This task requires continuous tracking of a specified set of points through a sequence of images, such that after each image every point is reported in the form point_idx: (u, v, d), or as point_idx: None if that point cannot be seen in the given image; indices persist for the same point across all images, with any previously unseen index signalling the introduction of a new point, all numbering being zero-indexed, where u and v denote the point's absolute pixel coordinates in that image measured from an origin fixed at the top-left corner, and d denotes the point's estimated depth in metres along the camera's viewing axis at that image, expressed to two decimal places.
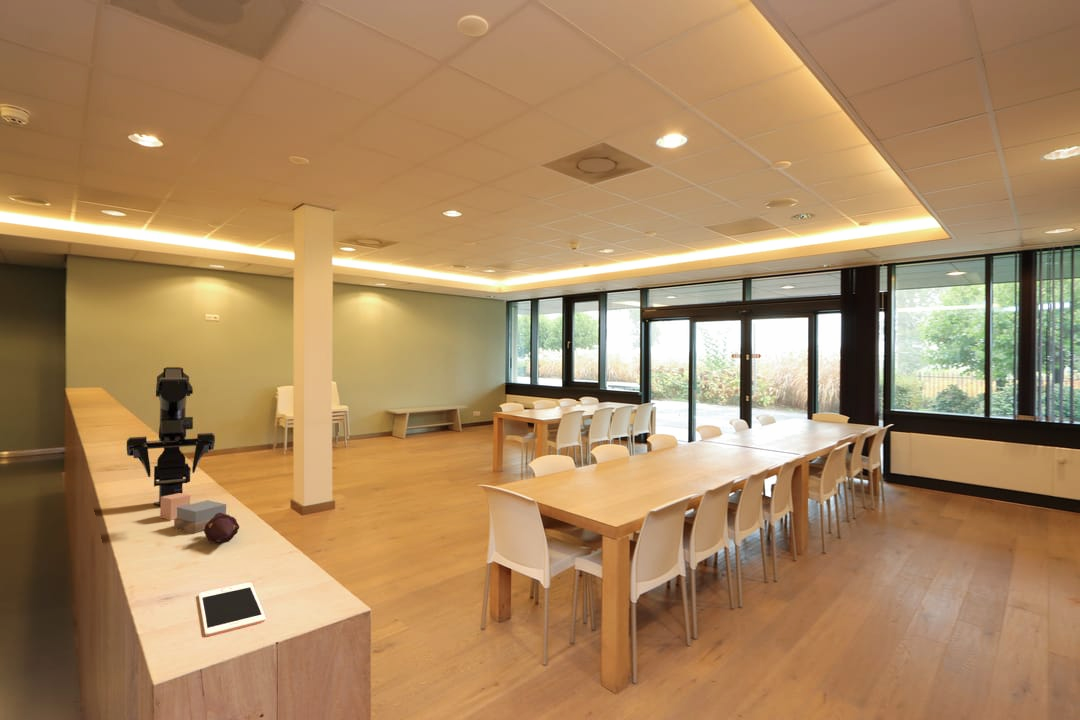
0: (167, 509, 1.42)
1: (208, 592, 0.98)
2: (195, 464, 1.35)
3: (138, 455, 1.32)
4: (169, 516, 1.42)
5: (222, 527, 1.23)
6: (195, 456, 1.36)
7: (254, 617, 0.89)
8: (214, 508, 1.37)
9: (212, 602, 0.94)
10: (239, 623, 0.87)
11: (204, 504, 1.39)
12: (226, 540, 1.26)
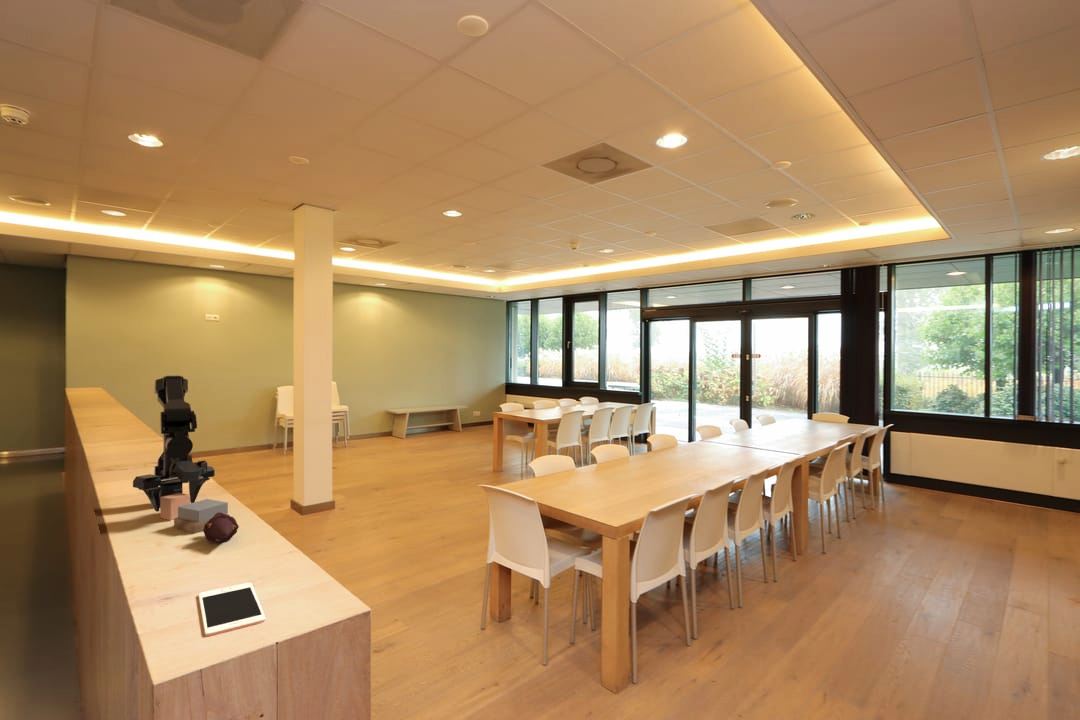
0: (167, 510, 1.42)
1: (208, 592, 0.98)
2: (195, 497, 1.49)
3: None
4: (169, 516, 1.42)
5: (221, 526, 1.23)
6: (196, 489, 1.49)
7: (254, 617, 0.89)
8: (216, 507, 1.37)
9: (212, 602, 0.94)
10: (239, 623, 0.87)
11: (205, 503, 1.39)
12: (225, 540, 1.26)
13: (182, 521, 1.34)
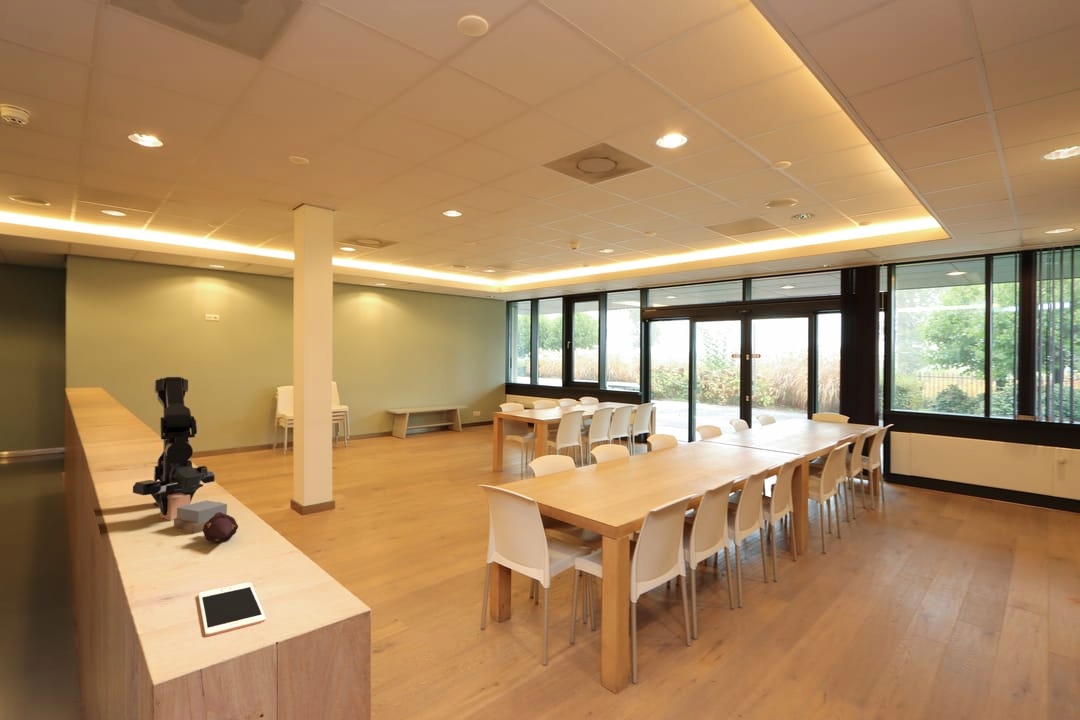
0: (167, 509, 1.42)
1: (208, 592, 0.98)
2: None
3: None
4: (169, 515, 1.42)
5: (220, 526, 1.23)
6: None
7: (254, 617, 0.89)
8: (215, 508, 1.37)
9: (212, 602, 0.94)
10: (239, 623, 0.87)
11: (204, 504, 1.39)
12: (225, 540, 1.26)
13: (182, 522, 1.34)
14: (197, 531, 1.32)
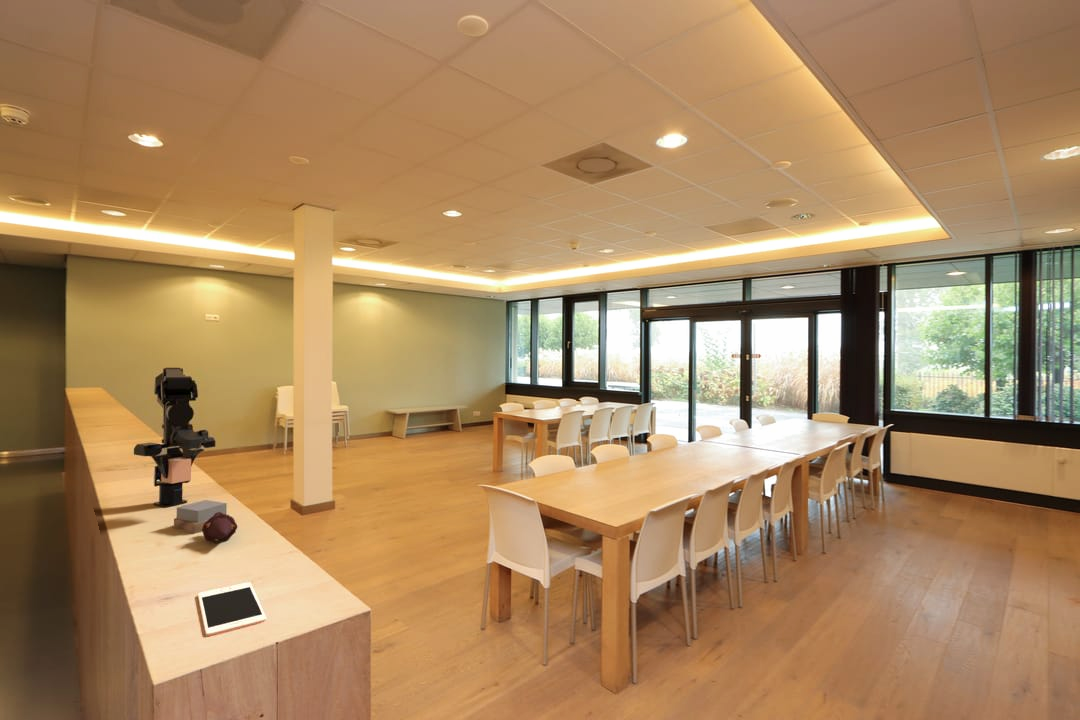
0: (168, 472, 1.42)
1: (207, 592, 0.98)
2: None
3: None
4: (170, 478, 1.42)
5: (219, 526, 1.23)
6: None
7: (254, 616, 0.89)
8: (215, 507, 1.37)
9: (212, 602, 0.94)
10: (240, 623, 0.87)
11: (204, 504, 1.39)
12: (224, 540, 1.26)
13: (182, 521, 1.34)
14: (197, 531, 1.32)
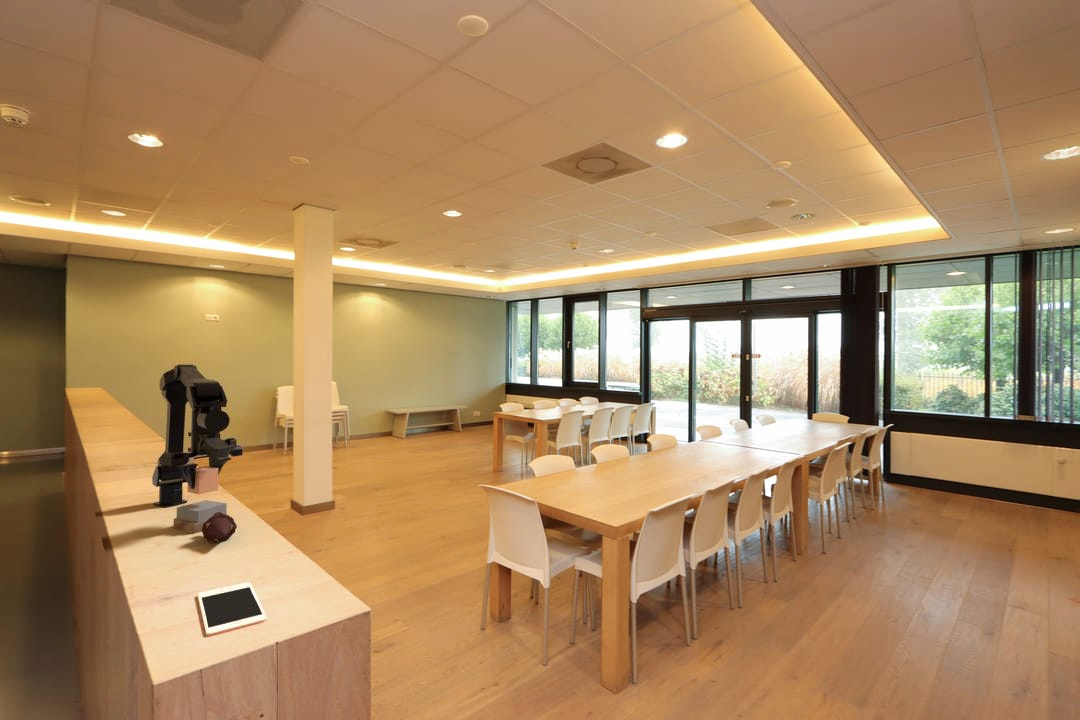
0: (195, 482, 1.35)
1: (207, 592, 0.98)
2: None
3: None
4: (197, 489, 1.35)
5: (219, 526, 1.23)
6: None
7: (255, 616, 0.89)
8: (215, 507, 1.37)
9: (212, 602, 0.94)
10: (240, 623, 0.87)
11: (204, 504, 1.39)
12: (223, 539, 1.27)
13: (181, 521, 1.34)
14: (197, 531, 1.32)
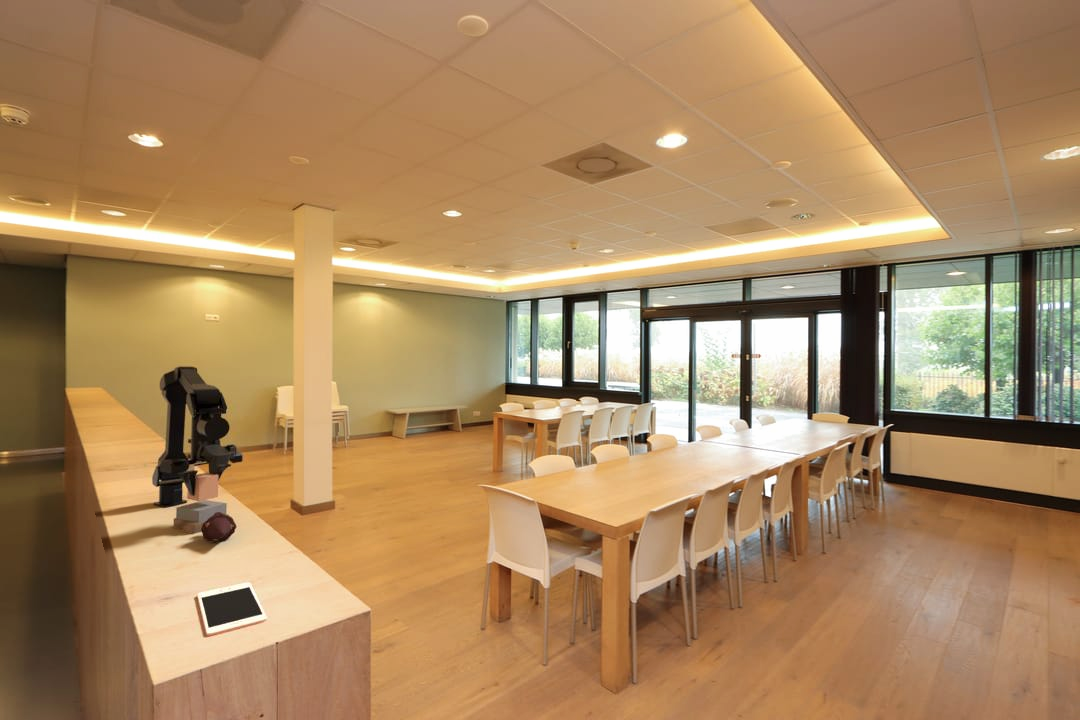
0: (195, 489, 1.35)
1: (207, 592, 0.98)
2: None
3: (180, 472, 1.34)
4: (197, 496, 1.35)
5: (218, 526, 1.23)
6: None
7: (255, 616, 0.89)
8: (216, 507, 1.37)
9: (212, 602, 0.94)
10: (240, 623, 0.87)
11: (203, 504, 1.39)
12: (223, 539, 1.27)
13: (181, 521, 1.34)
14: (197, 531, 1.32)
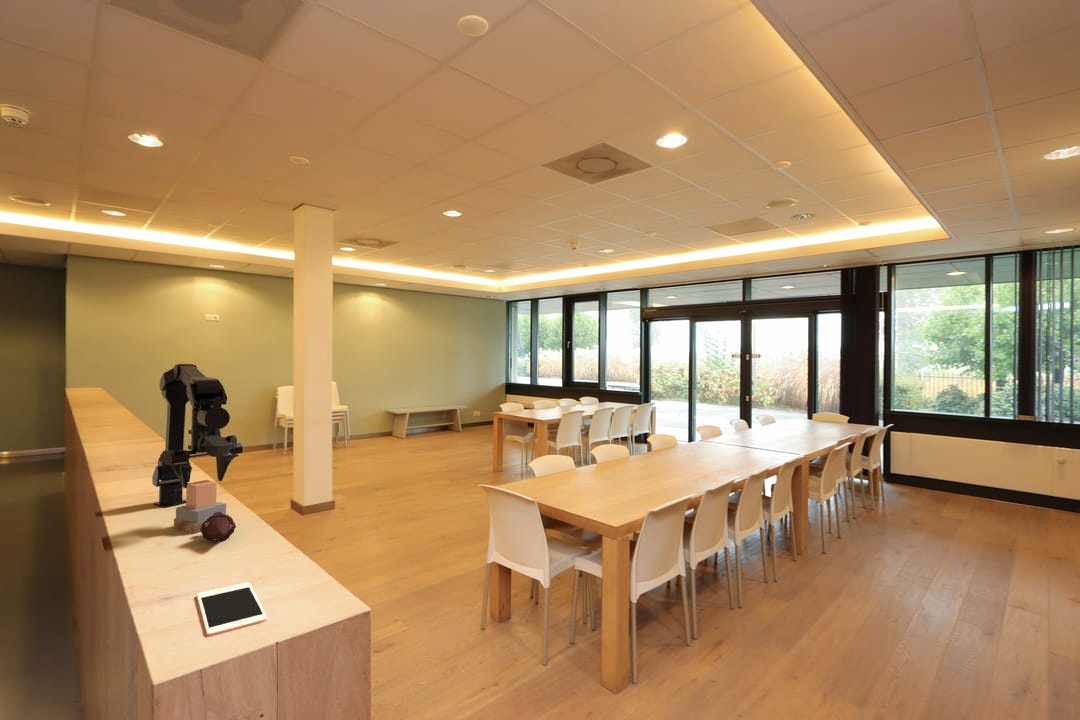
0: (193, 497, 1.35)
1: (206, 592, 0.98)
2: (223, 474, 1.42)
3: (172, 464, 1.32)
4: (195, 503, 1.34)
5: (217, 526, 1.23)
6: (224, 466, 1.42)
7: (255, 616, 0.89)
8: (215, 508, 1.37)
9: (211, 602, 0.94)
10: (241, 623, 0.87)
11: None
12: (222, 539, 1.27)
13: (182, 521, 1.34)
14: (197, 531, 1.32)
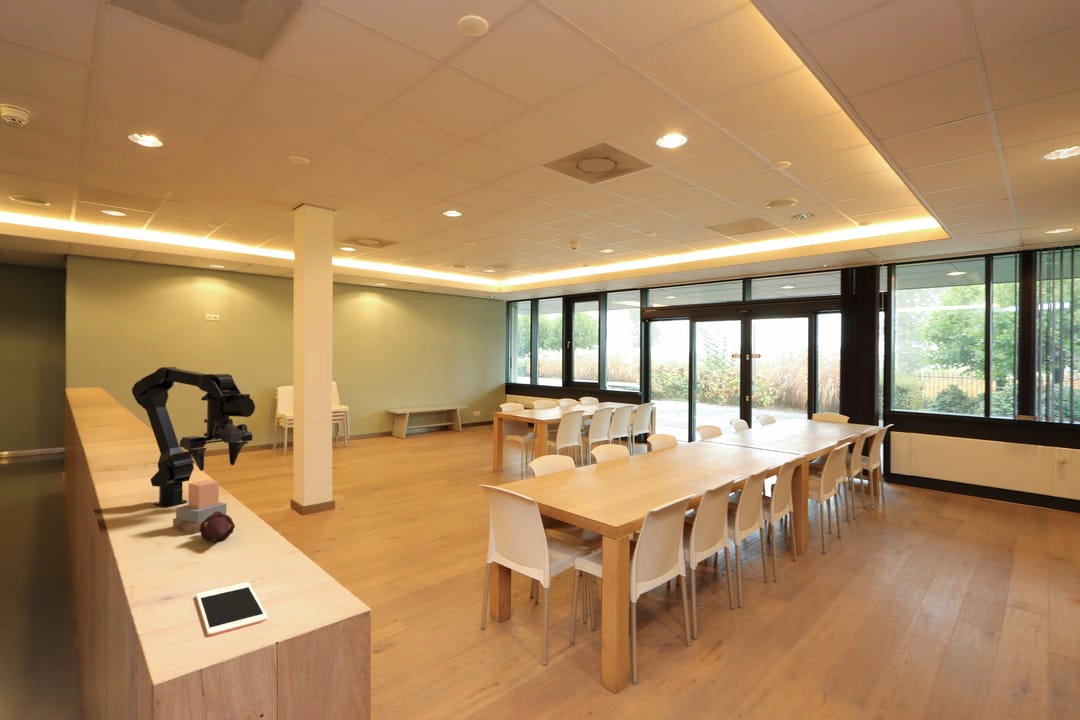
0: (195, 497, 1.35)
1: (206, 592, 0.98)
2: (235, 459, 1.58)
3: (191, 449, 1.48)
4: (197, 503, 1.35)
5: (216, 526, 1.23)
6: (236, 452, 1.58)
7: (256, 616, 0.89)
8: (215, 508, 1.37)
9: (211, 602, 0.94)
10: (241, 622, 0.87)
11: None
12: (221, 539, 1.27)
13: (181, 522, 1.34)
14: (196, 531, 1.32)
